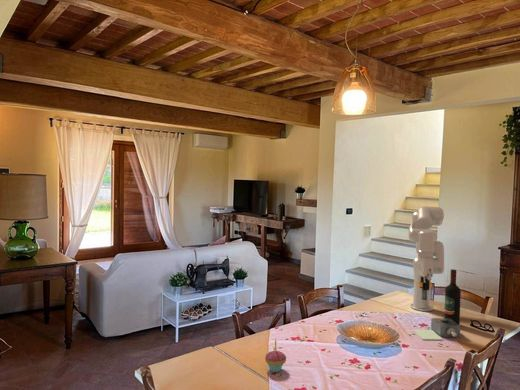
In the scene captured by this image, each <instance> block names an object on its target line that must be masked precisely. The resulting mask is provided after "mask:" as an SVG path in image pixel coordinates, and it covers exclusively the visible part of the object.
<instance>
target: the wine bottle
mask: <svg viewBox="0 0 520 390" xmlns="http://www.w3.org/2000/svg"><path fill="white" fill-rule="evenodd" d="M457 272H458V271H457V269H450V277H449V278H450V279H449V280H450V282H449V284H448V285H447V286H446V287H445V289H444V313H443V314H444V316H443V318H448V319H452V320H453V321H455V322H456V323H457V324H459V325H460V326H461V324H460V323H461V322H460V321H461V297H462V294H461V291H462V290H461V288H460V287H459V286H458V285H457Z"/></svg>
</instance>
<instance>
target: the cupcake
mask: <svg viewBox="0 0 520 390" xmlns="http://www.w3.org/2000/svg"><path fill="white" fill-rule="evenodd" d="M274 339H275V340H274V350H271V351H268V353H266V354H265V358H264V359H265V363H267V366H268V369H269V371H270V372H273V373H278V372H281V370H282V368H283V365H284V364H286V361H287V356H286V354H285V353H284V352H282V351H280V350H277V337H275V338H274Z"/></svg>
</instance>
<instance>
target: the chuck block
mask: <svg viewBox="0 0 520 390" xmlns="http://www.w3.org/2000/svg"><path fill="white" fill-rule="evenodd" d="M430 320H431V323H430V324H431V325H430V330H433V331H434V332H435V333H436V334H437V335H439V336H440V337H441V338H461V324H460V325H459V324H457V323H456V322H455V321H453V320H452V319H448V318H444V317H443V318H442V317H441V318H435V317H432V318H430Z"/></svg>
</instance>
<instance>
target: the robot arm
mask: <svg viewBox="0 0 520 390" xmlns="http://www.w3.org/2000/svg"><path fill="white" fill-rule="evenodd" d="M444 218H445V212H444V210H443V208H442V207H439V206H420V207H419V208H418V209H417V211H415V212H413V213H412V217H411V219H412V222H411V224H410V225H409V227H408V239H409V241H410V242H412V243H415V253H417V257H415V258H414V259H413V261H412V267H413V303H410V308H411V309H413V310H414V311H415V310H416V311H419V312H432V311H433V306H432V305H431V291H432V290H431V289H432V287H429V283H430V282H431V283H432V281H431V280H432V277H433V276H434V275H442V274H444V271H445V246H444V243H443V242H442V241H440V240H438V233H437V232H436V230H434V229H431V228H432V227H434V226H436V227H437V226H441V225H442V224H443V222H444ZM417 282H423V290H427V300H422V287H419V286H417Z"/></svg>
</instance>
